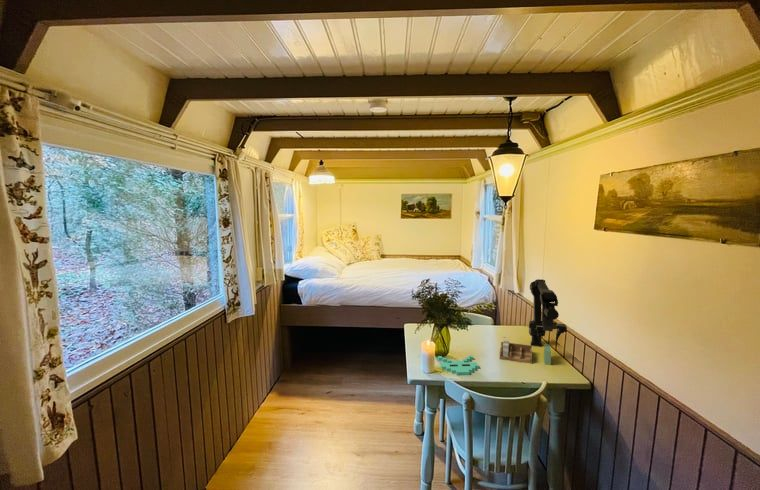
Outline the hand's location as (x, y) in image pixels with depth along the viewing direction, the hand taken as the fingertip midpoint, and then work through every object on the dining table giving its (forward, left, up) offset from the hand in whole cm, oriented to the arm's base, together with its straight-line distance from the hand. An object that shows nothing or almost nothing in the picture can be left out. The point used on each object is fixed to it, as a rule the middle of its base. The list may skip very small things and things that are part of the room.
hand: (546, 340), depth 188 cm
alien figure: (+24, -45, -13) cm, 52 cm away
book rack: (0, -16, -12) cm, 20 cm away
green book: (0, 0, -12) cm, 12 cm away
